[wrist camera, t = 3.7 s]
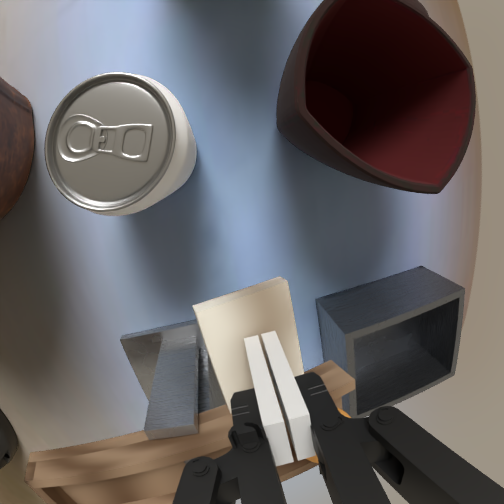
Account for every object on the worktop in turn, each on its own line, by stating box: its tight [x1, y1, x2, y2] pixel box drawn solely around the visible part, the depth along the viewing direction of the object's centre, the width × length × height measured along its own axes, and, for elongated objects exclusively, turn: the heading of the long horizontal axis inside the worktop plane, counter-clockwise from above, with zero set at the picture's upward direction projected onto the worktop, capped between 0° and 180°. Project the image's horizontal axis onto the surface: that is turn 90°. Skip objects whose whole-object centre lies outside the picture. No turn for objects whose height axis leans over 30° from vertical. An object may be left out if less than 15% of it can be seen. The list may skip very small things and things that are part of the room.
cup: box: [276, 0, 476, 194], centre depth 17 cm, size 10×14×12 cm
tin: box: [316, 266, 465, 418], centre depth 25 cm, size 11×9×6 cm
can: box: [45, 72, 197, 216], centre depth 16 cm, size 6×6×12 cm
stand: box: [120, 319, 226, 440], centre depth 22 cm, size 10×11×11 cm
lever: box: [24, 276, 355, 504], centre depth 16 cm, size 22×14×3 cm, turn 103°
